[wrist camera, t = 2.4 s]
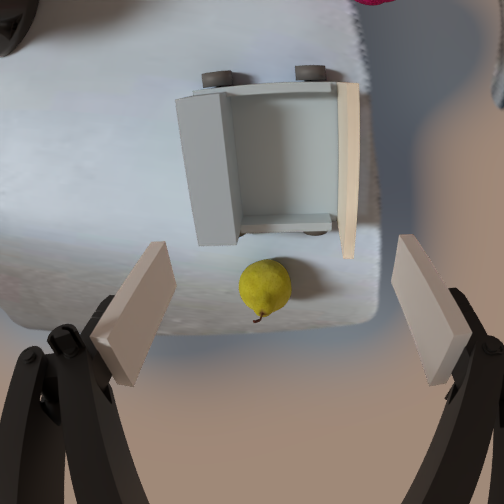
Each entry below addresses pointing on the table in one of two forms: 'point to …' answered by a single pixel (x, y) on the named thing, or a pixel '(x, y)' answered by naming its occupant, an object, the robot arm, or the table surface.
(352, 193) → the panel
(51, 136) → the table surface
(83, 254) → the table surface
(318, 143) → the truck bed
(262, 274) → the fruit
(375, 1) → the pepper mill
